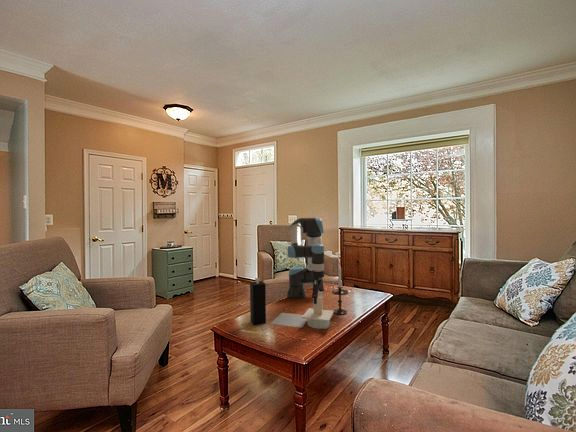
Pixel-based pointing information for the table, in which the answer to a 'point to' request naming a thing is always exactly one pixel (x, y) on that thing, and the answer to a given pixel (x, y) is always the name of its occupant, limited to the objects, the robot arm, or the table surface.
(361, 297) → the table surface
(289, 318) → the mat
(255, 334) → the table surface
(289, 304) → the table surface
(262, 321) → the black block
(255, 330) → the table surface
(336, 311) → the candlestick
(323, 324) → the bowl
